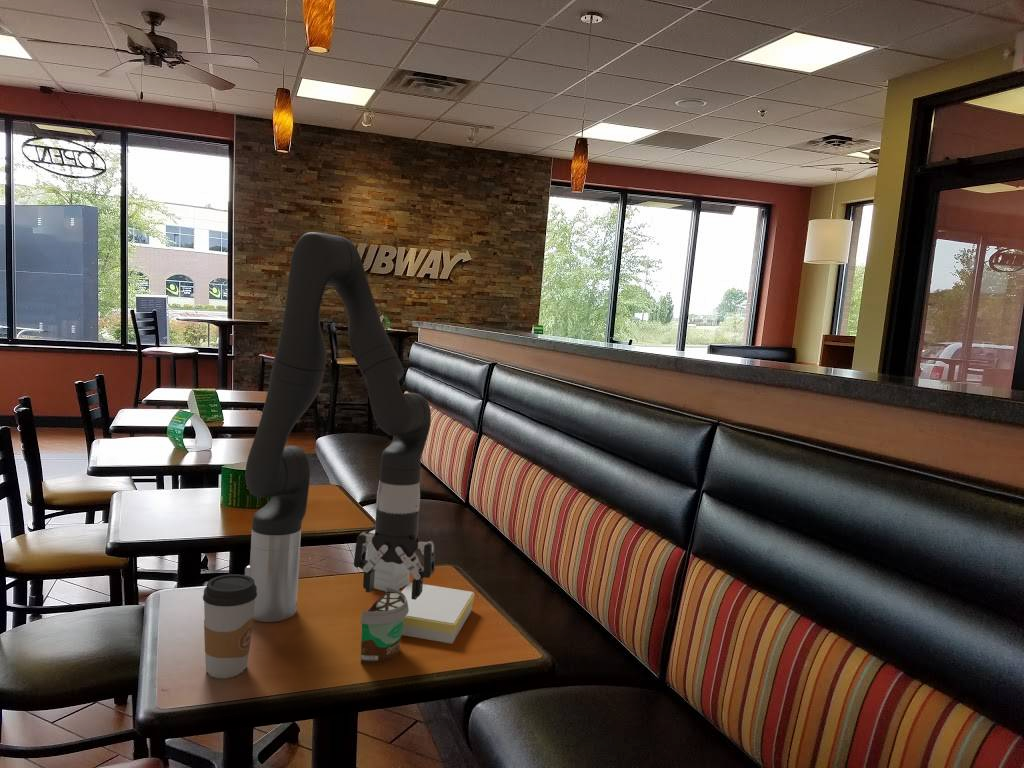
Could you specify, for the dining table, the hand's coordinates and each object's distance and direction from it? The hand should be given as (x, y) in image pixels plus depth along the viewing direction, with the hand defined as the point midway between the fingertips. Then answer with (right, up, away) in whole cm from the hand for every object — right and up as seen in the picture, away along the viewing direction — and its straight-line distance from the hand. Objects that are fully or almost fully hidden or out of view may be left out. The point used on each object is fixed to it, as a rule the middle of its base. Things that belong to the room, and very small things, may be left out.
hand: (392, 594), depth 125 cm
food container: (-1, -11, +1) cm, 12 cm away
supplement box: (-7, -8, +33) cm, 34 cm away
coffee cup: (-26, -10, -9) cm, 29 cm away
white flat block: (+5, -10, +17) cm, 20 cm away
